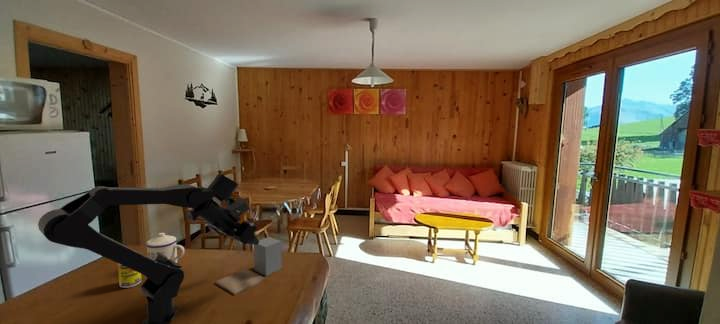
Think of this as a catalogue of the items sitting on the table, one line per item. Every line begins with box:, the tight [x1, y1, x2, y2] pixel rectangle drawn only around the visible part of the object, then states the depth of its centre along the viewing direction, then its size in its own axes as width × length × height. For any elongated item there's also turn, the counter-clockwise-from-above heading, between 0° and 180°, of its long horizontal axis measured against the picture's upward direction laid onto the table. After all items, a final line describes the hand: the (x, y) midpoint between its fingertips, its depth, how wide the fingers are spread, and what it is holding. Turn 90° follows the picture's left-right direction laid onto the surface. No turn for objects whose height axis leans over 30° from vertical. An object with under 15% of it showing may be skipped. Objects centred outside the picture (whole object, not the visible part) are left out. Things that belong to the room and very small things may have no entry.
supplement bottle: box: [117, 263, 142, 289], centre depth 94 cm, size 6×6×10 cm
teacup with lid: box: [145, 232, 185, 264], centre depth 107 cm, size 12×9×12 cm
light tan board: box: [214, 268, 267, 296], centre depth 97 cm, size 11×11×1 cm
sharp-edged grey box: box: [253, 236, 283, 277], centre depth 105 cm, size 6×6×10 cm
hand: (249, 239), depth 99 cm, fingers open, 9 cm apart
